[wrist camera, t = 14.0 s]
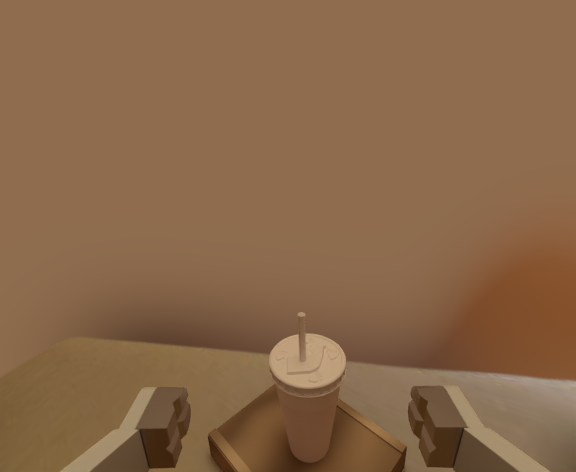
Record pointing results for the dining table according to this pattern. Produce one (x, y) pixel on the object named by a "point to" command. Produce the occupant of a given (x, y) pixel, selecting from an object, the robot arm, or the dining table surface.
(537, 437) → the dining table surface
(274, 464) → the board
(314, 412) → the smoothie
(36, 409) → the dining table surface
